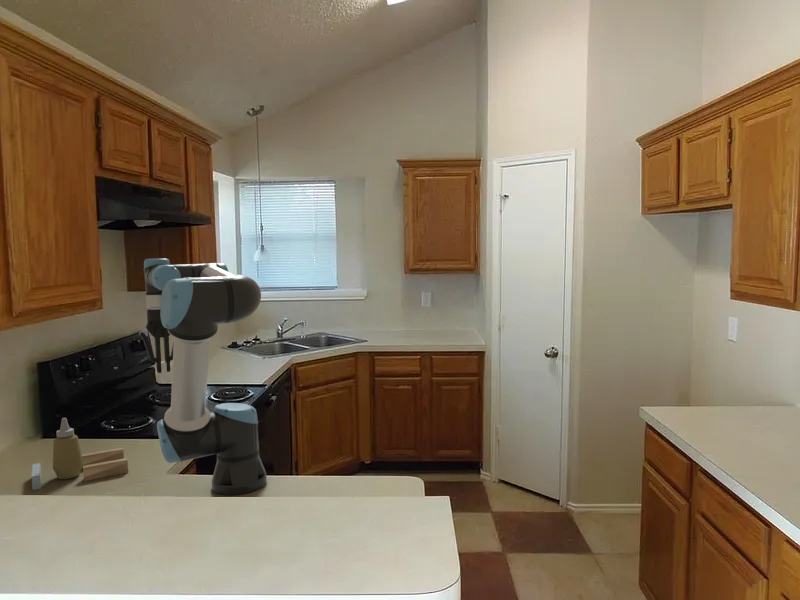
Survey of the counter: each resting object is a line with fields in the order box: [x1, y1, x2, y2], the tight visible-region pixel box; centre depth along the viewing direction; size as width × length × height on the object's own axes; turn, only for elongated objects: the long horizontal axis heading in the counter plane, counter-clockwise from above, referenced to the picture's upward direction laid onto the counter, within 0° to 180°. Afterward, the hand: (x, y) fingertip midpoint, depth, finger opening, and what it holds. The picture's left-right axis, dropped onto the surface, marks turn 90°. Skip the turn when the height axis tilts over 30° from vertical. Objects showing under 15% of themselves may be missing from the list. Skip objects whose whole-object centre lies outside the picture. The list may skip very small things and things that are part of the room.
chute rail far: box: [81, 447, 125, 470], centre depth 187 cm, size 2×12×4 cm, turn 121°
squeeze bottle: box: [52, 417, 83, 480], centre depth 177 cm, size 8×8×18 cm
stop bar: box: [31, 462, 42, 491], centre depth 173 cm, size 12×2×4 cm, turn 31°
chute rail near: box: [82, 457, 129, 482], centre depth 177 cm, size 2×12×4 cm, turn 121°
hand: (164, 382), depth 183 cm, fingers closed
